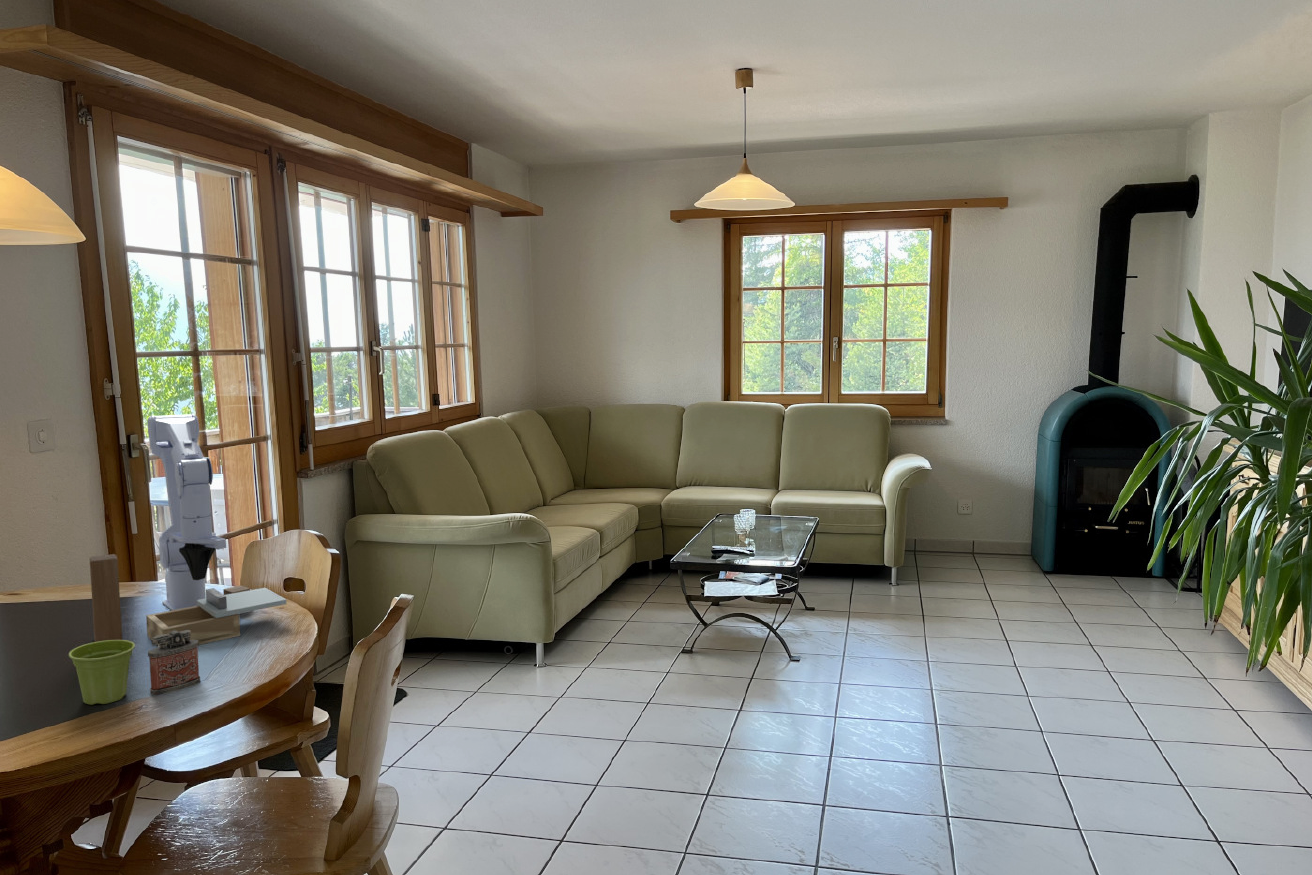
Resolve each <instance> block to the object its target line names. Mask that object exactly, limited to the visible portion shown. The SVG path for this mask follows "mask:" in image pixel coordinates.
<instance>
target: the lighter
mask: <svg viewBox="0 0 1312 875" xmlns="http://www.w3.org/2000/svg"><path fill="white" fill-rule="evenodd" d="M190 637H191V631H190V630H185V631H181V632H178V631H175V630H174V631H171V632H170V634H168V635H167V634H164V635H160V636H156V637H153V638H152V640H151V644H152V646H156V647H154V648H152V649H149V650H148V651H147V657H148V659H149V673H150V675H149V676H150V687H149V694H150V695H151V696H161V695H166V694H170V693H173V692H177V691H178V692H179V691H182V690H185V689H188V688H190V687H193V686H197V685H198V684H200V683H201V676H200V675H199V674H200V671H199V650H198V647H199V644H198V640H190ZM183 638H184V640H185V641H183ZM167 642H168V643H167ZM165 643H167V645H166V644H165ZM159 644H160V647H158V646H157V645H159Z"/></svg>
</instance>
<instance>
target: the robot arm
mask: <svg viewBox="0 0 1312 875" xmlns="http://www.w3.org/2000/svg"><path fill="white" fill-rule="evenodd" d="M147 433H148V440H149V442H148V443H149V449H150V450H151V454H152V455H154V456H157V457H158V458H160V460H161V462H162V465H163V468H164V469H163V470H164V478H165V485H166V493H167V500H168V508H169V516H170V524H171V525H169V527H168V528H166V529H165V530H164V531H163V532H161V533H160V536H159V540H158V541H159V542H158V543H159V548H158V550H159V562H160V565H161V567H163V568H164V569H167V572H166V573H165V588H166V591H165V592H166V599H165V600H162V601H161V602H162V604H163V605H164V606H166V607H167V608H168V609H170V611H172V610H177V609H182V608H187V607H193V606H198V605H197V600H200V599H206V577H207V576H206V575H207V571H208V567H209V564H210V561H211V559H212V556H213V554H214V552H215V551H216V550H222V549H227V539H226V538H223V537H220V536H218V535H217V532H213V527H212V526H213V523H212V522H213V521H212V504H211V500H212V499H211V485H212V484H213V479H214V471H213V466H212V460H211V459H210V457H206V456H204V454H203V451H202V449H201V447H200V445H199V444H198V441H199V437H200V423H199V418H198V416H197V415H196V414H195V413H191V414H171V415H166V414H165V415H153V414H152V415H150V416H149V417H148V418H147Z"/></svg>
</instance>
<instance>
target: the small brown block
mask: <svg viewBox="0 0 1312 875" xmlns="http://www.w3.org/2000/svg"><path fill="white" fill-rule="evenodd" d="M222 590H223V593H222V594H223V595H227V594H233V593H238V592H244V591H249V590H251V587H247V586H244V585H241V584H240V585H236V586H232V587H228V588H224V589H222Z"/></svg>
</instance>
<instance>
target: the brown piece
mask: <svg viewBox="0 0 1312 875" xmlns="http://www.w3.org/2000/svg"><path fill="white" fill-rule="evenodd" d="M145 617H146V618H145V621H146V635H147V636H148V637H149V638H150V641H152V638H153V637H156V636H160V635H164V634H167V635H168V634H170V632H171V631H174V630H175V631H178V632H181V631H185V630H190V631H191V637H190V640H198V644H199V645H204V644H208V643H213V642H218V641H223V640H227V639H228V640H229V639H231V638H232V639H233V638H235V637H236V638H237V637H240V636H241V624H240V623H241V621H240V614H235V615H230V616H225V617H220V618H215V617H214V616H212V615H211V614H209V613H208V612H207V611H205V610H204V609H202V608H201V607H199V606H193V607H187V608H182V609H177V610H167V611H163V612H156V613H152V614H146V616H145ZM148 637H147V638H148ZM149 638H148V639H149ZM183 641H185V640H184V638H183ZM167 643H168V642H167ZM167 643H165V644H166V645H167ZM199 645H198V646H199ZM158 646H159V647H160V644H159V645H158ZM158 646H157V647H158Z"/></svg>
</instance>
